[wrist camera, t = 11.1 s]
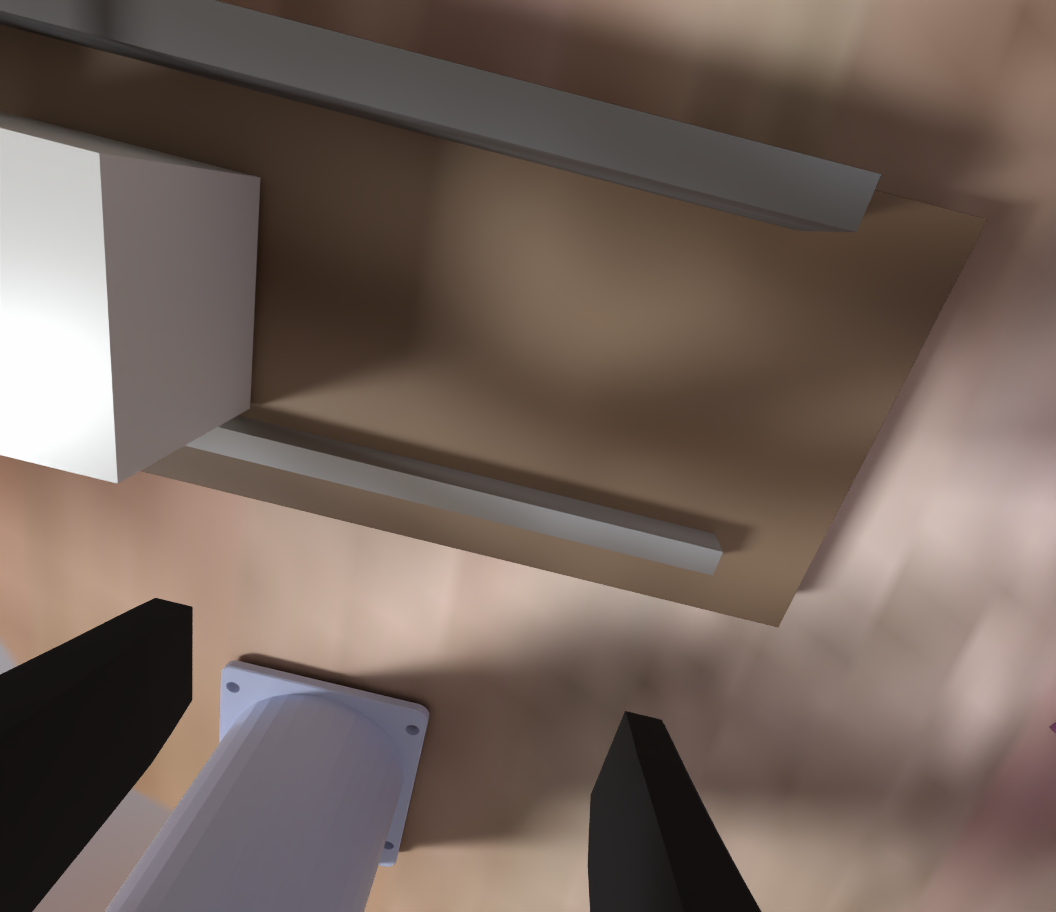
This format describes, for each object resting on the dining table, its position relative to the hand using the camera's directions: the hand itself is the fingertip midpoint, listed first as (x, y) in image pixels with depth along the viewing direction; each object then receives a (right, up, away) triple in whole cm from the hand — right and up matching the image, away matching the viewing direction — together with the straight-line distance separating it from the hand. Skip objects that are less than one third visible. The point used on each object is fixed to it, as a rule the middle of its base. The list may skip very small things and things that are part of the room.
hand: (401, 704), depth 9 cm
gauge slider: (-8, +10, +5) cm, 14 cm away
